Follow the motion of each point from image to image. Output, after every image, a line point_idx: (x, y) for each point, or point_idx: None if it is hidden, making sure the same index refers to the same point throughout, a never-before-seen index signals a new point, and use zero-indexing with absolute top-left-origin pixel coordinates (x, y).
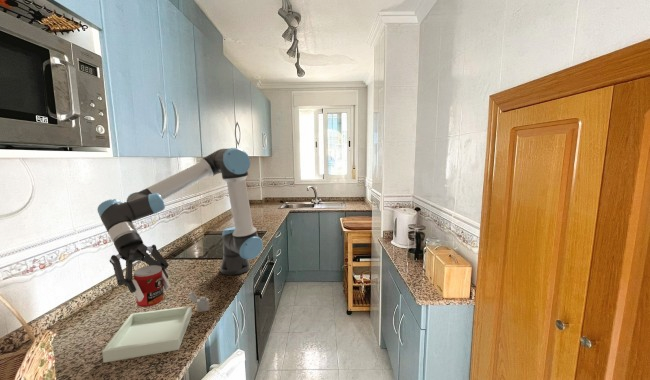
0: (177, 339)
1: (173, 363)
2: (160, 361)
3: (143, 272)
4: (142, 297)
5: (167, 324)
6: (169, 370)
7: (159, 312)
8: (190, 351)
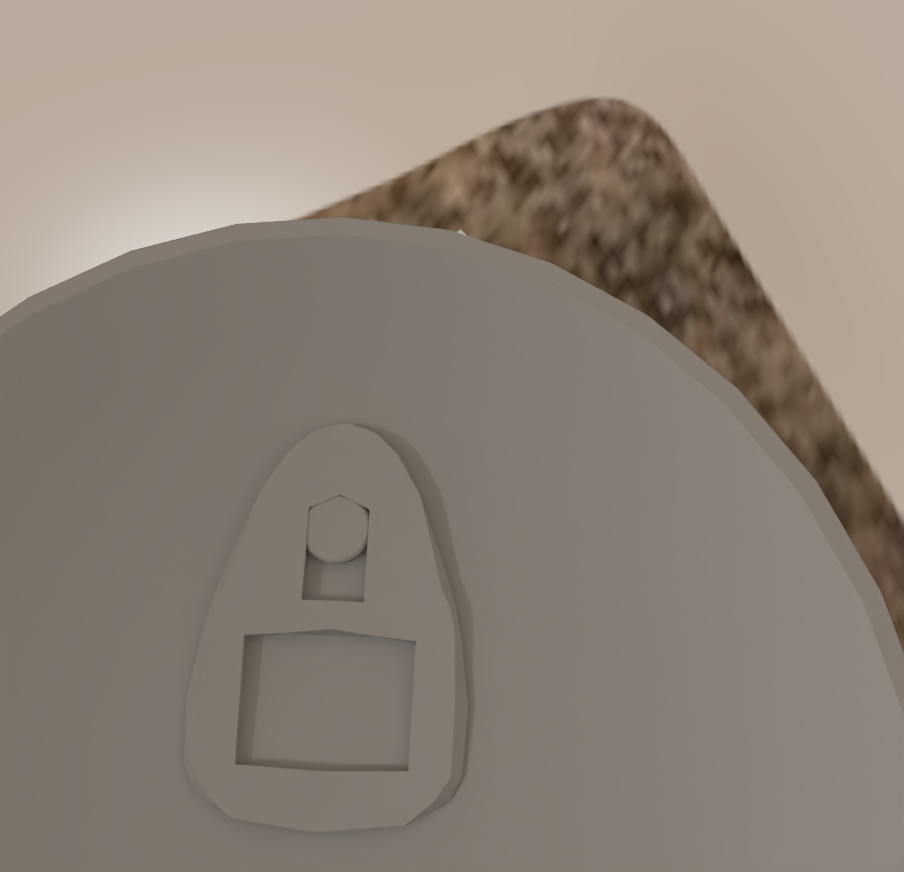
0: (463, 234)
1: (579, 183)
2: (614, 287)
3: (546, 825)
4: None
5: None
6: (637, 150)
7: None
8: (432, 179)
